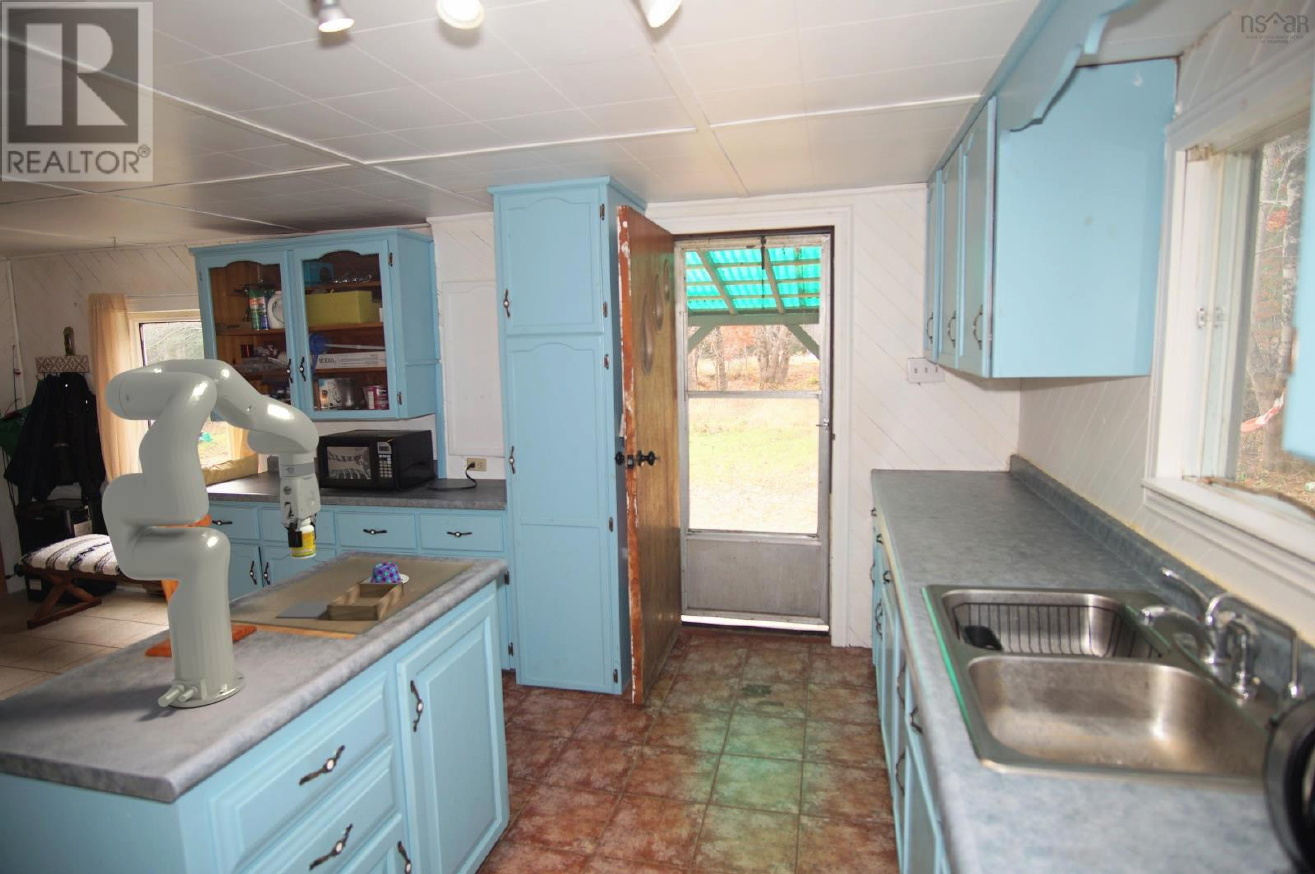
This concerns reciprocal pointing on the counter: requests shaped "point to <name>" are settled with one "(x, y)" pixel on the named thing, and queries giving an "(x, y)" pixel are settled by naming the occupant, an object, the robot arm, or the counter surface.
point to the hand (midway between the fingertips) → (302, 542)
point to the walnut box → (349, 611)
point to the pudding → (386, 574)
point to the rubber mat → (305, 609)
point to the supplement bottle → (305, 541)
